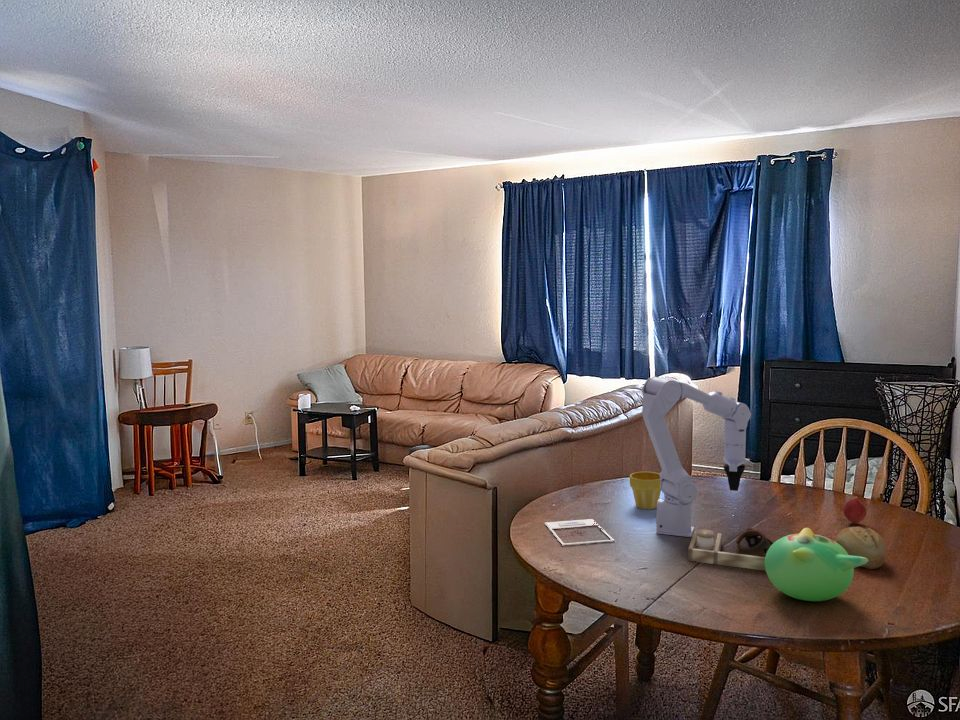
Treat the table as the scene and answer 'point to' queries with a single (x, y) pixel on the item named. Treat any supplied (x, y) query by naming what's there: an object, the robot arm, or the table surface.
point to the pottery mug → (753, 543)
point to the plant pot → (645, 489)
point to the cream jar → (705, 539)
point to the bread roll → (863, 545)
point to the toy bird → (810, 566)
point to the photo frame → (572, 524)
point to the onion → (854, 510)
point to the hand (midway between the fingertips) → (733, 490)
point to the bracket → (723, 556)
